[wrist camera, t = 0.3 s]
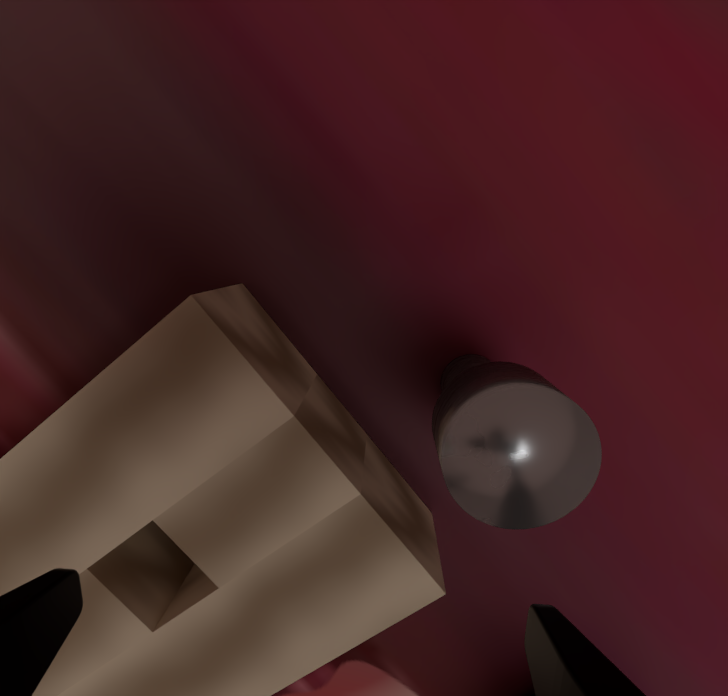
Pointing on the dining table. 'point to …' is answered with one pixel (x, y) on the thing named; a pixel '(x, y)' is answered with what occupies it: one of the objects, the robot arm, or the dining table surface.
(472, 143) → the dining table surface
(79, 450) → the hitch block
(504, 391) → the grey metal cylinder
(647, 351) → the dining table surface
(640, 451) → the dining table surface
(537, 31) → the dining table surface
